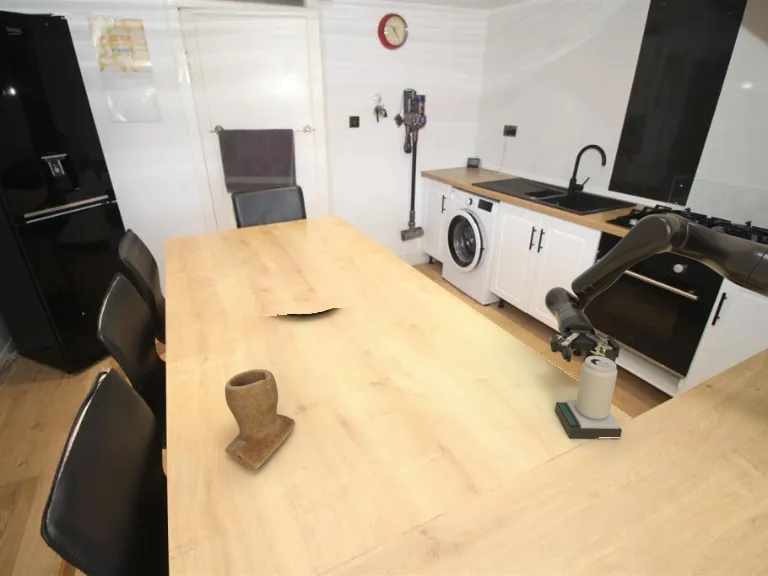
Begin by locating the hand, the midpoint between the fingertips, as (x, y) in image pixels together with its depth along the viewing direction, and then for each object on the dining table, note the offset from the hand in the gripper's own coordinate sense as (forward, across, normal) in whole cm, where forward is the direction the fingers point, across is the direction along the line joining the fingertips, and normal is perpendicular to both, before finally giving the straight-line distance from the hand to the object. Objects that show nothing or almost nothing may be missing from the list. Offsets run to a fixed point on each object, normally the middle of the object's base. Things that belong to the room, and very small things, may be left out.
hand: (590, 360), depth 89 cm
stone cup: (+25, -68, +12) cm, 73 cm away
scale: (+7, -1, +12) cm, 14 cm away
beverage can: (+6, 0, +9) cm, 11 cm away
